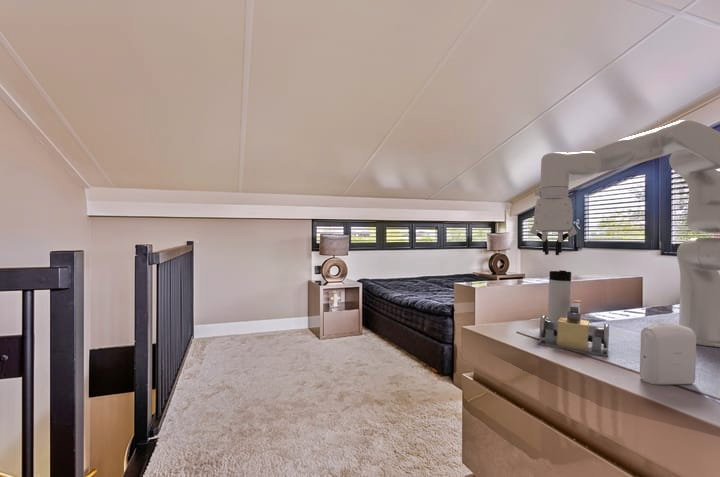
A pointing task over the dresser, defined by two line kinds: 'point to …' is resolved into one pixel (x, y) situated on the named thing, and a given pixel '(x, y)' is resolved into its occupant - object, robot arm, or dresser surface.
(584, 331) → the grey vise
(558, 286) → the travel mug
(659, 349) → the photo printer
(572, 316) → the lever
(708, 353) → the dresser surface
